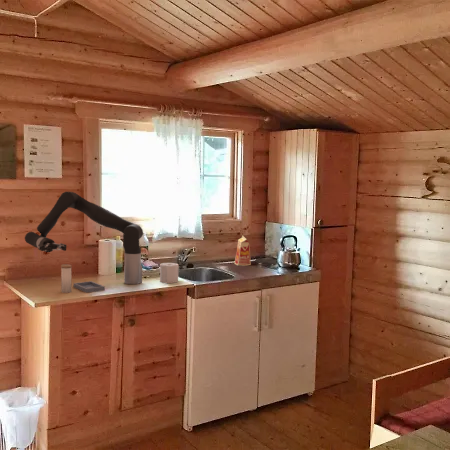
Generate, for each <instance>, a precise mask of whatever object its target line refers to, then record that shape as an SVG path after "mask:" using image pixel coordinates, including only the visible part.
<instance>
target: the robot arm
mask: <svg viewBox="0 0 450 450" xmlns="http://www.w3.org/2000/svg"><path fill="white" fill-rule="evenodd" d="M69 208H71V209H74V210H76V211H78V212H81V213H82V214H84V215H85V216H87V217H88V218H89V219H90V220H91V221H93V222H95V223H96V224H98V225H100V226H101V227H102V226H103V227H105V228H109V229H113V230H115V231H119V232H121V233H122V234H123V235H122V237H123V238H122V240H123V241H122V242H123V250H124V266H123V267H124V271H123V272H124V277H123V278H124V279H123V280H124V281H123V282H124V284H126V285H138V284H141V283H143V266H142V247H140V246H141V245H140V239H141V238H142V237H143V235H144V230H143V228H142V227H141V226H140V225H138V224H136V223H135V222H134V223H133V222H131V221H129V220H126V219H124V218H122V217H121V216H119V215H117V214H115V213H114V212H112V211H110V210H108V209H106V208H104V207H102V206H100V205H98V204H96V203H93V202H90V201H88V200H87V199H85V198H84V197H82V196H81V195H80V194H78V193H77V192H74V191H64V192H62V193H61V194H60V196H59V197H58V199H57V200H56V202H55V204H54V205H53V207H52V208H51V210H50V211H49V212H48V214H47V215H46V216H45V217H44V218H43V220H42V221H40V223H39V224H38V225H37V226H36V230H37V231H38V233H39V234H37V233H35V232H34V231H29V232H27V233H26V234H25V235H24V241H25V243H27V244H29V245H30V246H32V247H33V248H35V249H36V248H37V250H39V251H41V252H44V253H45V252H46V253H51V252H53V251H63V252H65V251H67V246H68V245H67V244H65V243H62V242H61V243H56V242H55V241H54V240H53V239H51V238H48V237H47V236H48V235H49V233H50V232H51V230H53V228H54V227H55V226H56V224H57V222H58V221H59V219H60V217H61V215H62V214H63V213H64V212H65V211H67V209H69Z"/></svg>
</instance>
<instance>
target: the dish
mask: <svg viewBox="0 0 450 450" xmlns="http://www.w3.org/2000/svg"><path fill="white" fill-rule="evenodd" d="M105 287H106V286H104V285H102V284H100V283H97V282H95V281H91V280H90V281H83V282H73V288H75V289H77V290H79V291H81V292H84V293H95V292H101V291H105Z"/></svg>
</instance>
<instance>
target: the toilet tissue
mask: <svg viewBox="0 0 450 450" xmlns="http://www.w3.org/2000/svg"><path fill="white" fill-rule="evenodd" d="M159 281H160V283H166V284H173V283H177V282H179V264H178V263H175V262H162V263H160V264H159Z"/></svg>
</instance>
